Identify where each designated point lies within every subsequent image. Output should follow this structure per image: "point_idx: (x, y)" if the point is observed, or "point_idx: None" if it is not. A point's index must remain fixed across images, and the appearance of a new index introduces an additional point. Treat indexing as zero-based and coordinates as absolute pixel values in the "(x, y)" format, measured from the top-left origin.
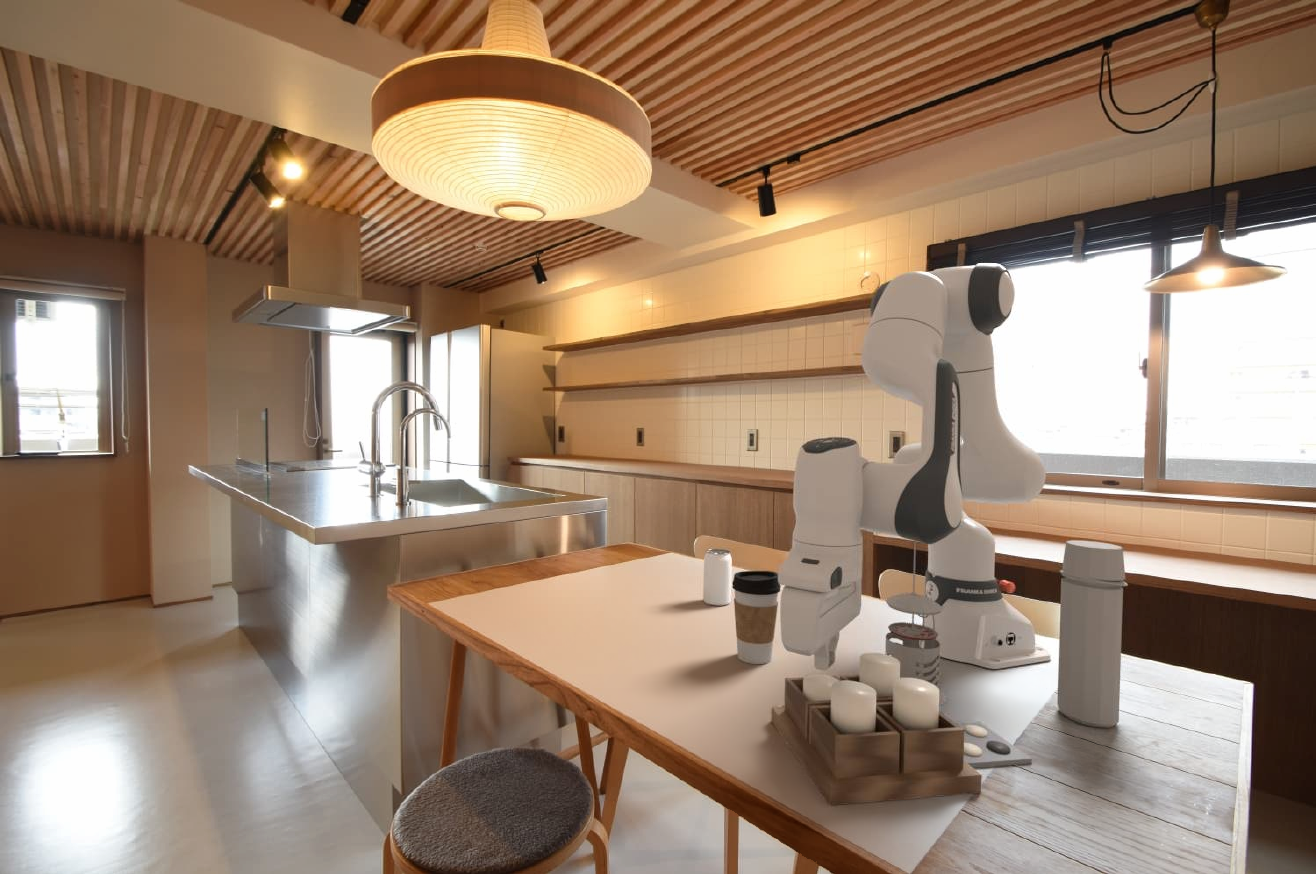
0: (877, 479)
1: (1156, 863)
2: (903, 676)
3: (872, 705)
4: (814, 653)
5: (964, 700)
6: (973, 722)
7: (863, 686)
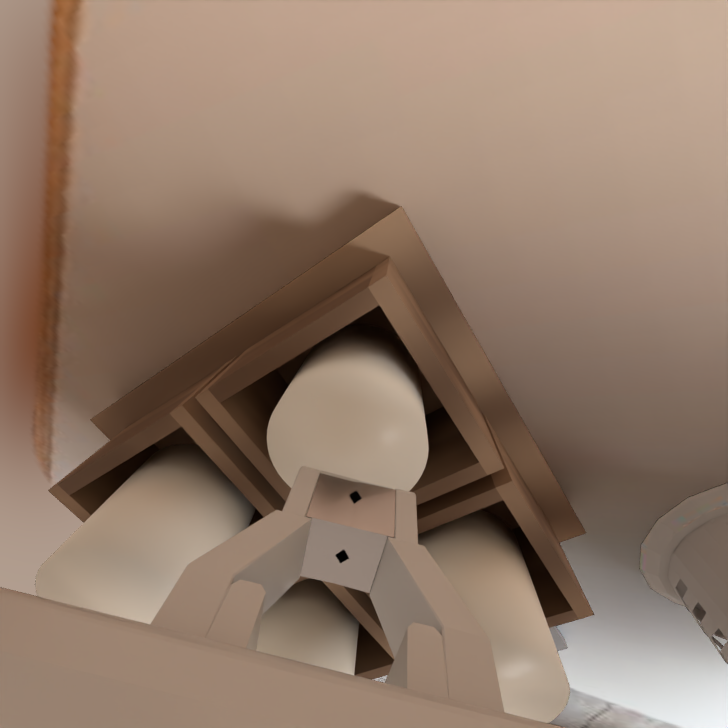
0: None
1: None
2: (723, 590)
3: None
4: (265, 521)
5: (698, 636)
6: (560, 639)
7: None
